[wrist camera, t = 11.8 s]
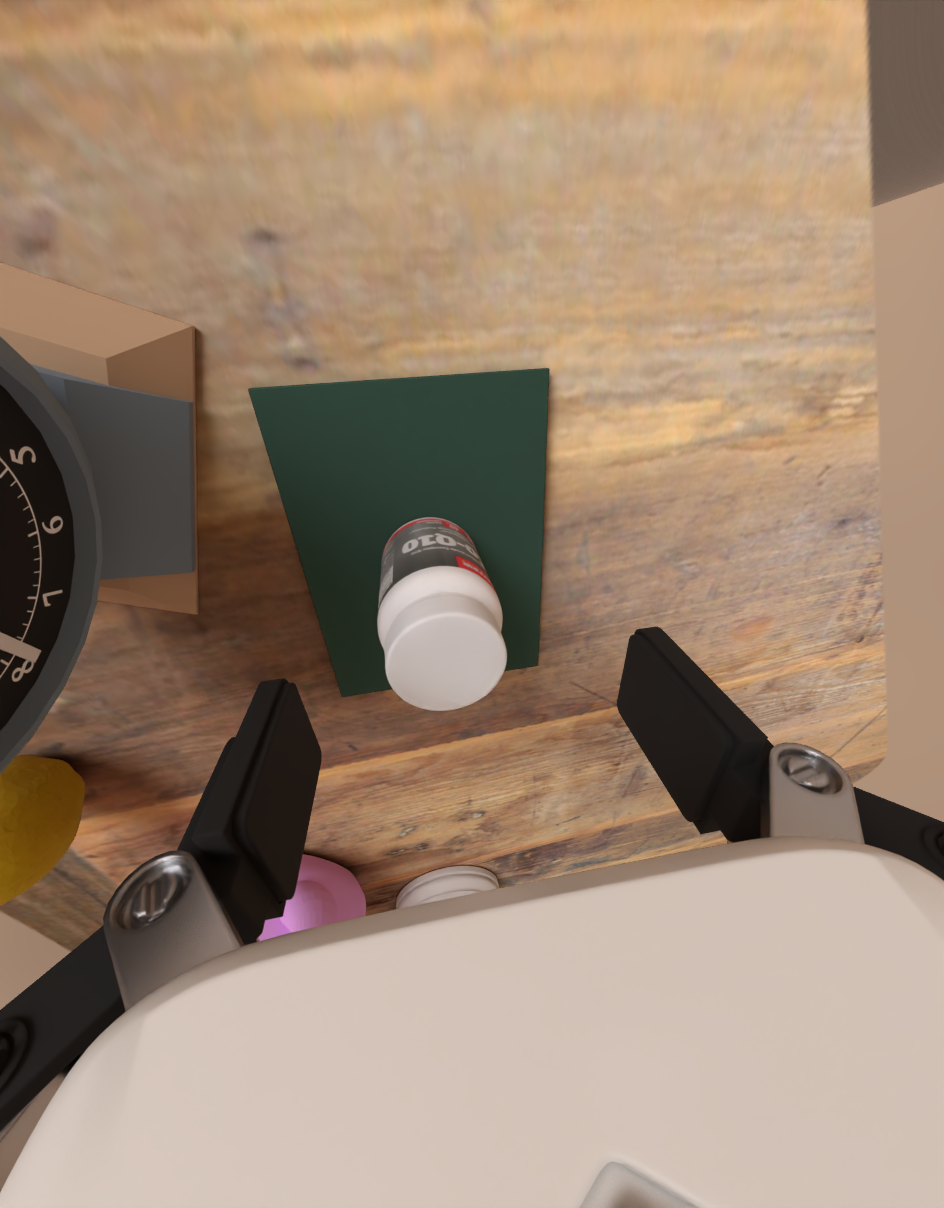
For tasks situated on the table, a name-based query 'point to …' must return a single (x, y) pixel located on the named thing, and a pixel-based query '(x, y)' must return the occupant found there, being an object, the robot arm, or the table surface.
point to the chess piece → (446, 885)
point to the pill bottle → (438, 617)
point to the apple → (36, 819)
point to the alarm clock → (87, 480)
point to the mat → (410, 493)
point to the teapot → (318, 899)
